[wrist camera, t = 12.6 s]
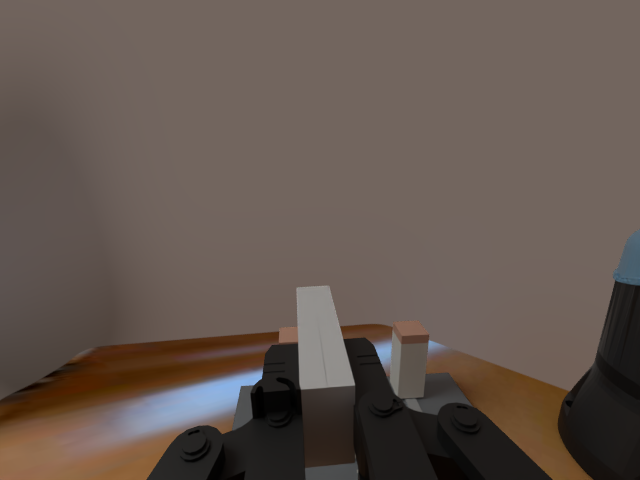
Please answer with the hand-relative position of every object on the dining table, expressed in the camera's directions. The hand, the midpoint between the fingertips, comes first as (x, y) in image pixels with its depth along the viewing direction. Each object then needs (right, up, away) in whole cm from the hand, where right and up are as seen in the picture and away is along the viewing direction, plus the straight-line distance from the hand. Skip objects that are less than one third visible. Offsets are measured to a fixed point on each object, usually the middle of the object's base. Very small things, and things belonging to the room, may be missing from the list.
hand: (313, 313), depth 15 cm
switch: (+10, -14, +23) cm, 29 cm away
